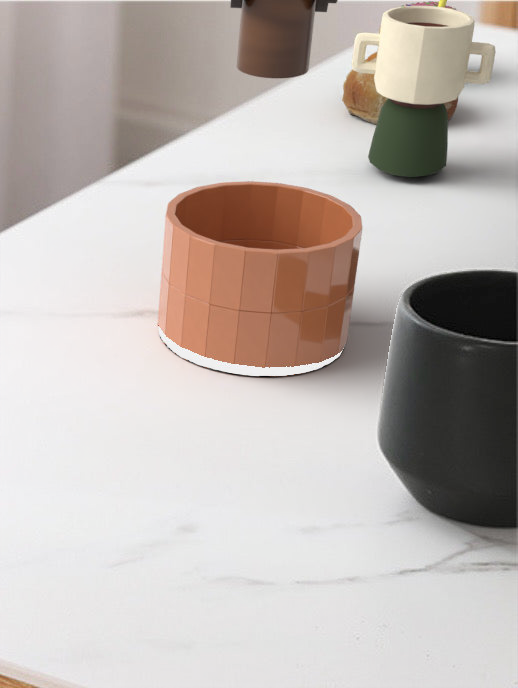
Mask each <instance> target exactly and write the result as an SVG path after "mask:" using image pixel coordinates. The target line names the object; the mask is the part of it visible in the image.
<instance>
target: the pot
mask: <svg viewBox="0 0 518 688" xmlns="http://www.w3.org/2000/svg"><path fill="white" fill-rule="evenodd" d="M164 220H165V221H164V234H163V247H162V262H161V274H160V287H159V302H158V313H157V314H158V316H157V326H158V325H159V327H160V328H161V330H162V331H163V333H164V334H165V335H166V337H168V338H169V339H171V340H172V341H173V342H175V343H176V344H177V345H179V346H180V347H182V348H185V349H188V350H190V351H192V352H194V353H197V354H199V355H201V356H204V357H207V358H212V359H214V360H218V361H222V362H227V363H231V364H239V365H247V366H255V367H262V368H265V367H269V368H270V367H286V366H287V367H290V366H291V367H294V366H300V365H306V364H307V365H308V364H312V363H319V362H322V361H324V360H326V359H329V358H331V357H334V356H335V355H337V354H338V353H340V352H341V351H342V350H343V348H344V346H345V347H346V345H345V344H347V342H348V337H349V330H350V322H351V314H352V308H353V300H354V293H355V286H356V285H355V284H356V278H357V270H358V263H359V257H360V249H361V242H362V236H363V220H362V216H361V215H360V214H359V213H358V211H357V210H356V209H355V208H354V207H353V206H352V205H350V204H349V203H347V202H345V201H343V200H341V199H340V198H337V197H336V196H333V195H331V194H327V193H325V192H322V191H318V190H316V189H312V188H309V187H303V186H297V185H293V184H287V183H280V182H271V181H270V182H268V181H254V180H253V181H252V180H248V181H247V180H245V181H244V180H243V181H225V182H224V181H223V182H217V183H211V184H206V185H200V186H196V187H194V188H191V189H188V190H186V191H183V192H181V193H179V194H177V195H176V196H175V197H174V198H172V199H171V200H170V201H169V202H168V203H167V205H166V211H165V219H164Z"/></svg>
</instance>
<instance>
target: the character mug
mask: <svg viewBox="0 0 518 688" xmlns="http://www.w3.org/2000/svg"><path fill="white" fill-rule="evenodd" d="M457 10H458V9H456V10H454V9H449V8H443V7H435V6H406V5H404V7H401V6H398V7H392V8H388V9H387V10H386V11H384V12H383V13H382V17H381V22H380V23H381V24H380V26H381V29H380V28H379V29H380V34H379V33H375V32H374V33H373V32H364V31H363V32H359V33H357V34H356V36H355V38H354V42H353V51H352V57H351V68H352V69H353V70H354V71H356V72H358V73H368V74H374V81H375V86H376V91H377V92H378V93H379V94H381V95H382V96H384V97H386V98H389V99H388V100H386V102H385V103H384V105H383V106H382V108H381V111H380V115H379V118H378V121H377V125H376V124H375V128H374V131H373V132H374V133H373V134H372V135H373V136H372V138H371V143H370V147H369V152H368V156H367V158H368V161H369V163H370V164H371V165H372V166H374V167H375V168H376V169H378V170H379V171H382V172H385V173H387V174H390V175H392V176H396V177H397V176H399V177H405V178H407V177H408V178H417V177H426V176H430V175H433V174H436V173H438V172H441V171H443V169H445V168H446V167H447V164H448V163H447V161H448V144H449V143H448V142H449V141H448V138H449V137H448V136H449V133H448V131H449V120H448V113H447V110H446V107H445V105H444V103H446V102H449V101H453V100H456V99H457V97H458V98H459V96H460V94H461V93H462V92H463V90H464V88H465V85H466V84H473V85H474V84H475V85H485V84H489V82H490V81H491V79H492V76H493V75H492V74H493V70H494V64H495V58H496V46H495V45H494V44H491V43H489V42H477V41H473V37H474V32H475V22H476V20H475V19H474V17H473V16H472V15H470V14H468V13H466V12H464V11H461V10H458V11H457ZM367 46H376V47H377V51H376V52H377V59H376V62H366V61H365V60H366V59H365V58H366V50H367ZM470 55H476V56H477V55H478V56H481V58H480V60H481V61H480V65H479V71H472V70H468V67H469V61H470ZM352 69H351V70H352Z"/></svg>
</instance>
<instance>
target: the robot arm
mask: <svg viewBox="0 0 518 688" xmlns="http://www.w3.org/2000/svg"><path fill="white" fill-rule="evenodd" d="M338 1H339V0H316V4H315V13H327V12H328V8H329V4H337V3H338ZM242 2H243V0H230V9H242Z"/></svg>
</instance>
